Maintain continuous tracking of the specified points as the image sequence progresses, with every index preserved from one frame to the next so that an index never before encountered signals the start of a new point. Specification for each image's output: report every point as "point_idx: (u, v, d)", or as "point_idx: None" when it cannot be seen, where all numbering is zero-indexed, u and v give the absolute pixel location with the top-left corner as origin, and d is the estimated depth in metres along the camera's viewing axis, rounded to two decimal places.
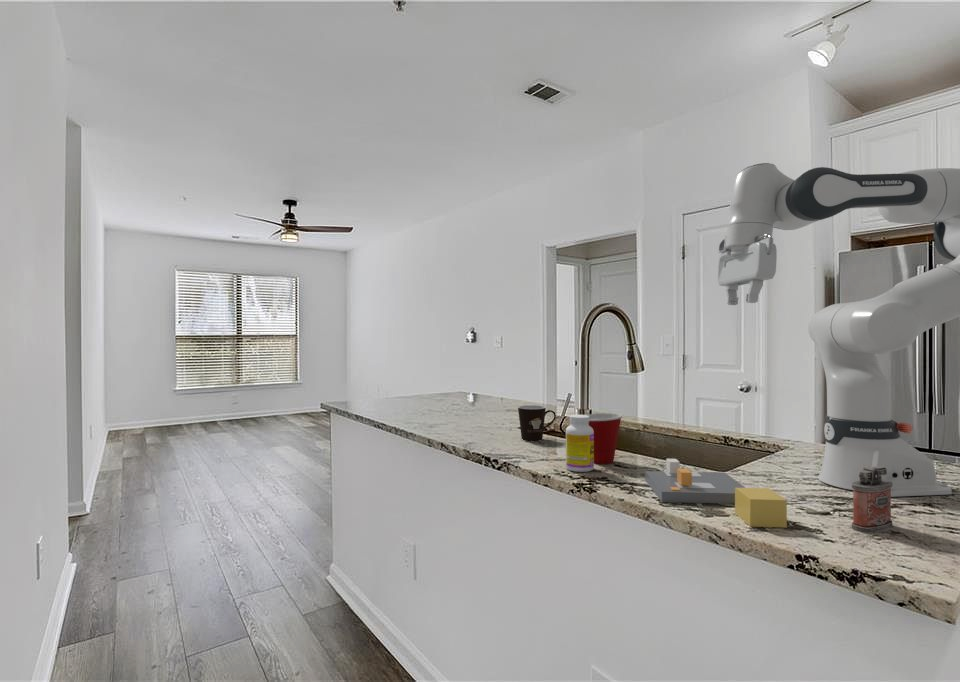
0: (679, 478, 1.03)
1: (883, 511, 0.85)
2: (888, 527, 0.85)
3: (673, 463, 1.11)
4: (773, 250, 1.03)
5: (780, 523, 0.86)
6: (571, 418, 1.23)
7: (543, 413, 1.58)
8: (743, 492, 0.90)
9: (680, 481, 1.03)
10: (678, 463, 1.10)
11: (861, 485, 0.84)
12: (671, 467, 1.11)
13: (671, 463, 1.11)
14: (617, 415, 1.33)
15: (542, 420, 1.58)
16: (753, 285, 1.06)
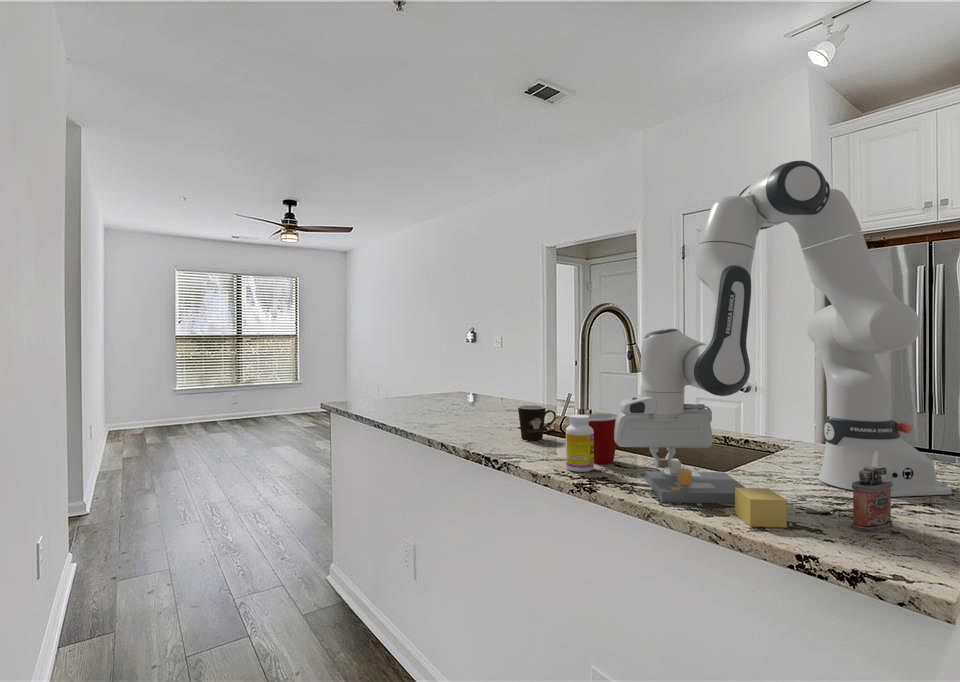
0: (679, 478, 1.03)
1: (883, 511, 0.85)
2: (888, 527, 0.85)
3: (674, 463, 1.11)
4: None
5: (780, 523, 0.86)
6: (571, 418, 1.23)
7: (543, 413, 1.58)
8: (743, 492, 0.90)
9: (680, 481, 1.03)
10: (679, 463, 1.10)
11: (861, 485, 0.84)
12: (672, 467, 1.11)
13: (672, 463, 1.11)
14: None
15: (542, 420, 1.58)
16: None
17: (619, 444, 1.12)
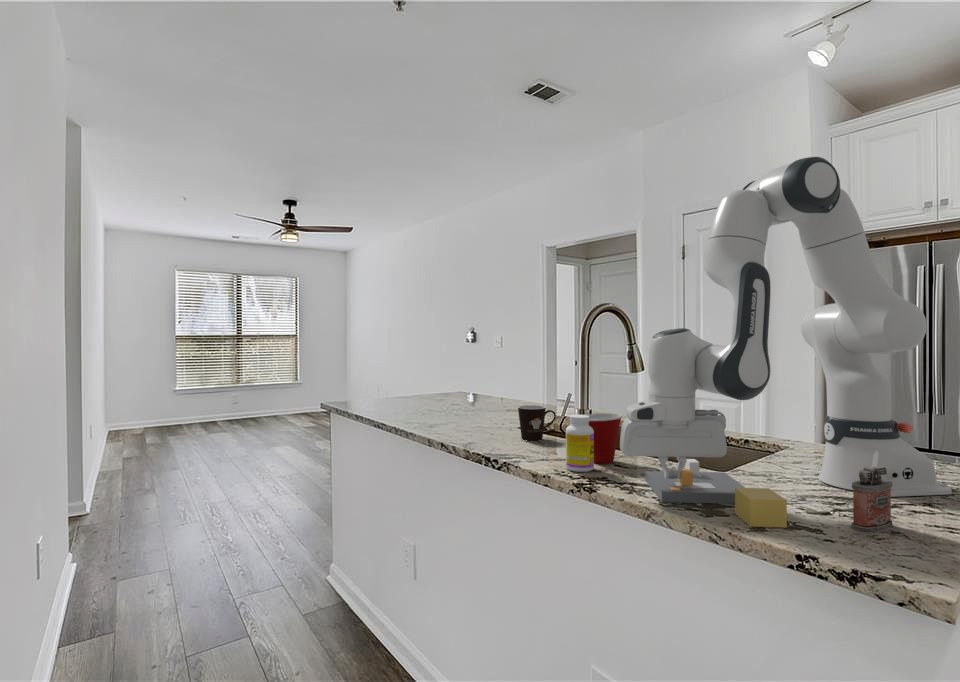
0: None
1: (883, 511, 0.85)
2: (888, 527, 0.85)
3: (693, 463, 1.10)
4: None
5: (780, 523, 0.86)
6: (571, 418, 1.23)
7: (543, 413, 1.58)
8: (743, 492, 0.90)
9: (681, 481, 1.03)
10: (698, 463, 1.10)
11: (861, 485, 0.84)
12: (691, 467, 1.10)
13: (691, 463, 1.10)
14: (617, 415, 1.33)
15: (542, 420, 1.58)
16: None
17: (625, 453, 1.03)
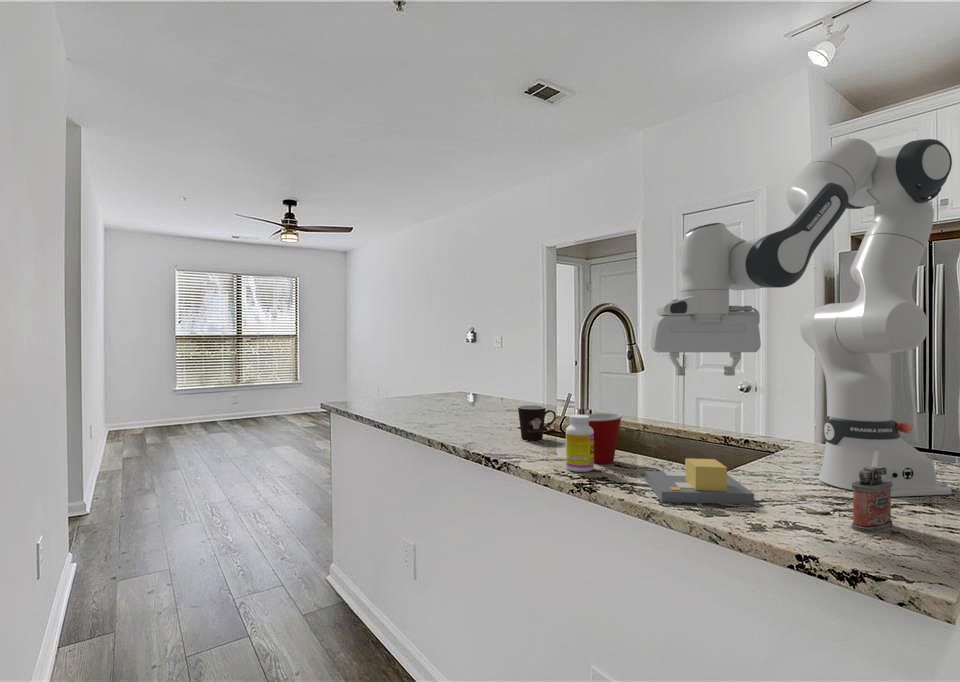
0: None
1: (883, 511, 0.85)
2: (888, 527, 0.85)
3: None
4: None
5: (721, 487, 1.00)
6: (571, 418, 1.23)
7: (543, 413, 1.58)
8: (691, 461, 1.04)
9: None
10: None
11: (861, 485, 0.84)
12: None
13: None
14: (617, 415, 1.33)
15: (542, 420, 1.58)
16: None
17: (658, 349, 1.02)
